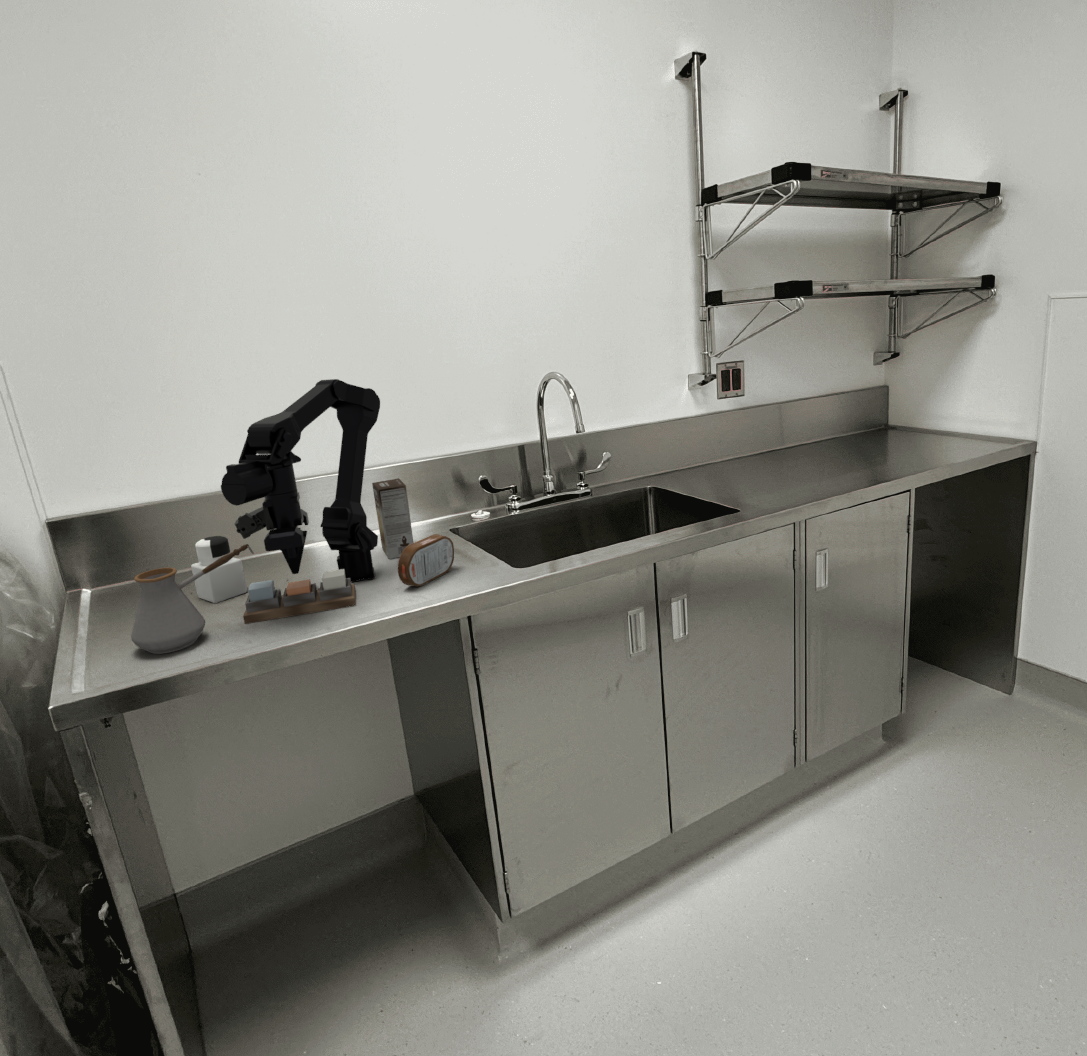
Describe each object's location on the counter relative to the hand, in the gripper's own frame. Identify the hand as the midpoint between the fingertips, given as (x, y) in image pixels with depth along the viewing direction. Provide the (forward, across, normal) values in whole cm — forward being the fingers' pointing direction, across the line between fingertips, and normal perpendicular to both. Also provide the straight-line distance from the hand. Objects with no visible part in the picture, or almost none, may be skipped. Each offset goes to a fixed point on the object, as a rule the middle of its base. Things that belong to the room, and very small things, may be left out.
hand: (295, 573), depth 136 cm
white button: (+4, 0, +7) cm, 8 cm away
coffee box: (+7, -27, +20) cm, 34 cm away
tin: (+7, -4, +25) cm, 26 cm away
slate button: (+4, 0, -6) cm, 8 cm away
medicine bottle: (+7, -15, -16) cm, 23 cm away
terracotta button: (+5, 0, 0) cm, 5 cm away
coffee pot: (+7, +7, -16) cm, 19 cm away
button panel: (+7, 0, 0) cm, 7 cm away
